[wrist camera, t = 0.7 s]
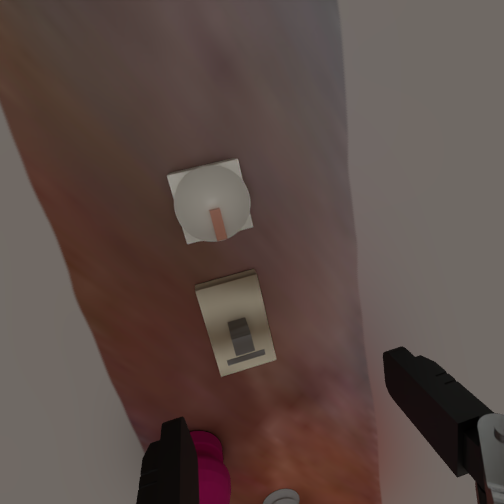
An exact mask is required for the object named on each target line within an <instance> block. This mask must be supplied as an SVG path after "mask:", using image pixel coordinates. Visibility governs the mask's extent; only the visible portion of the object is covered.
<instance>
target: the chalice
mask: <svg viewBox="0 0 504 504" xmlns="http://www.w3.org/2000/svg"><path fill="white" fill-rule="evenodd" d="M299 500H300V499H299V495H298V494H297V493H296V492H295V491H293V490H291V489H280V490H277V491H275V492H273V493H272V494H270V495H269V496H268V497H267V498H266V499H265V501H264V503H263V504H299Z"/></svg>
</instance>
